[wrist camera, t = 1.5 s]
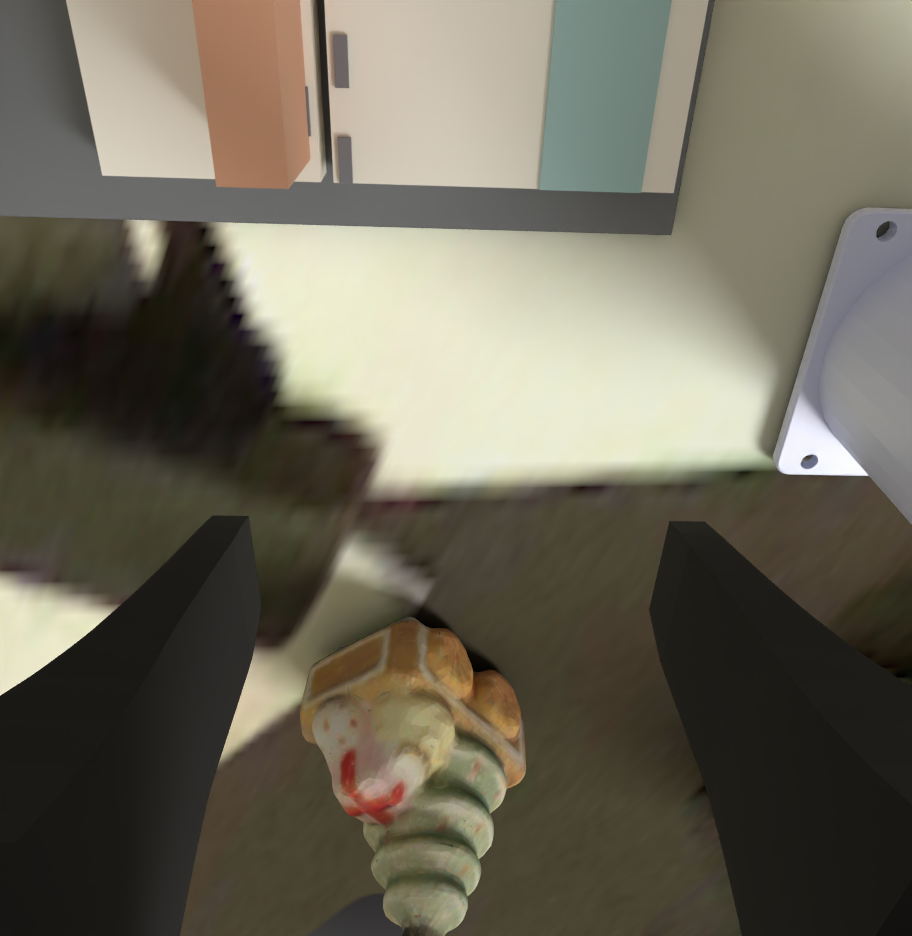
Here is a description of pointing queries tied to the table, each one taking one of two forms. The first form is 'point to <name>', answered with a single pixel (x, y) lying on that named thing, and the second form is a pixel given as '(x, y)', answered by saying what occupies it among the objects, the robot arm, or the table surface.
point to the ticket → (512, 92)
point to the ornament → (417, 762)
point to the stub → (204, 89)
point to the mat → (309, 203)
